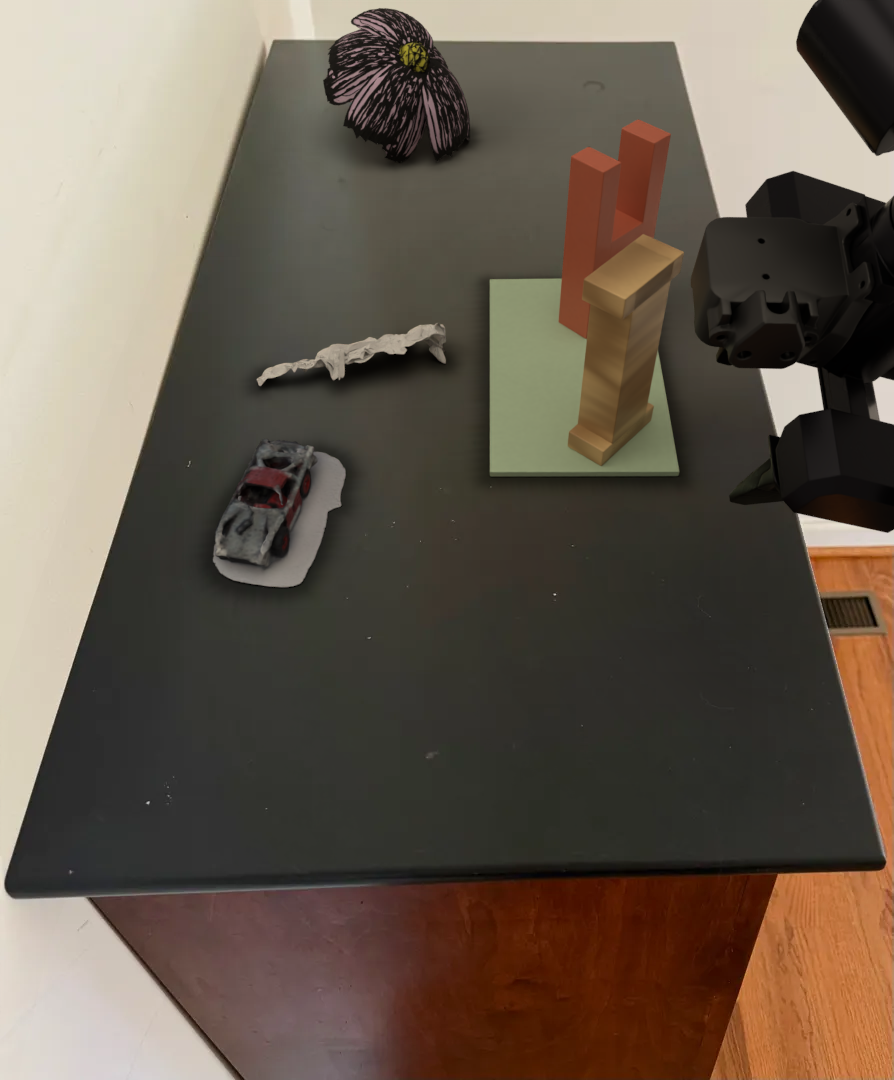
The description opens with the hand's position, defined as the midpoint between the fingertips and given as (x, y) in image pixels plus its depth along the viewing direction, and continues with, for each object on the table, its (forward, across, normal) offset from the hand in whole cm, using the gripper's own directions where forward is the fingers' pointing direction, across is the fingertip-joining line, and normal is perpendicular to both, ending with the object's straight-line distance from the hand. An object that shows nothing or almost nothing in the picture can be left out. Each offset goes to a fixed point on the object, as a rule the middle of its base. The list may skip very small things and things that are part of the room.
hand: (729, 428), depth 51 cm
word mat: (+15, -14, -2) cm, 21 cm away
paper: (+21, -13, -18) cm, 31 cm away
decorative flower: (+28, -48, -14) cm, 58 cm away
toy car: (+20, +1, -22) cm, 29 cm away
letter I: (+13, -7, -1) cm, 14 cm away
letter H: (+15, -20, 0) cm, 25 cm away
